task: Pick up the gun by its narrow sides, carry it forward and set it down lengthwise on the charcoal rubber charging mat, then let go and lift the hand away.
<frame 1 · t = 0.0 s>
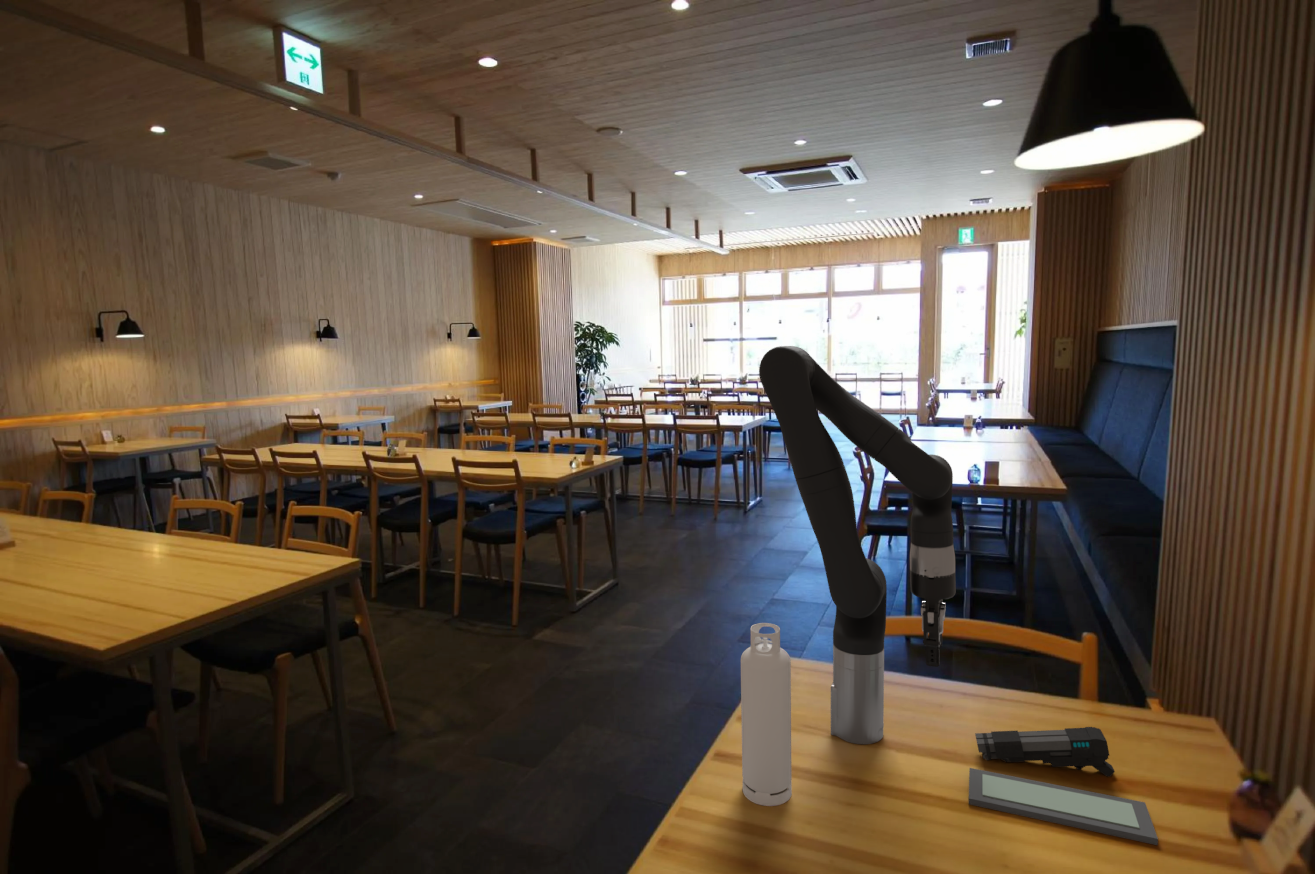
hand: (934, 655, 127), 17 cm above the table, tool pointing down, fingers open, 8 cm apart
gun: (1042, 766, 123), on the table
bottle: (767, 791, 117), on the table
charging mat: (1055, 806, 111), on the table
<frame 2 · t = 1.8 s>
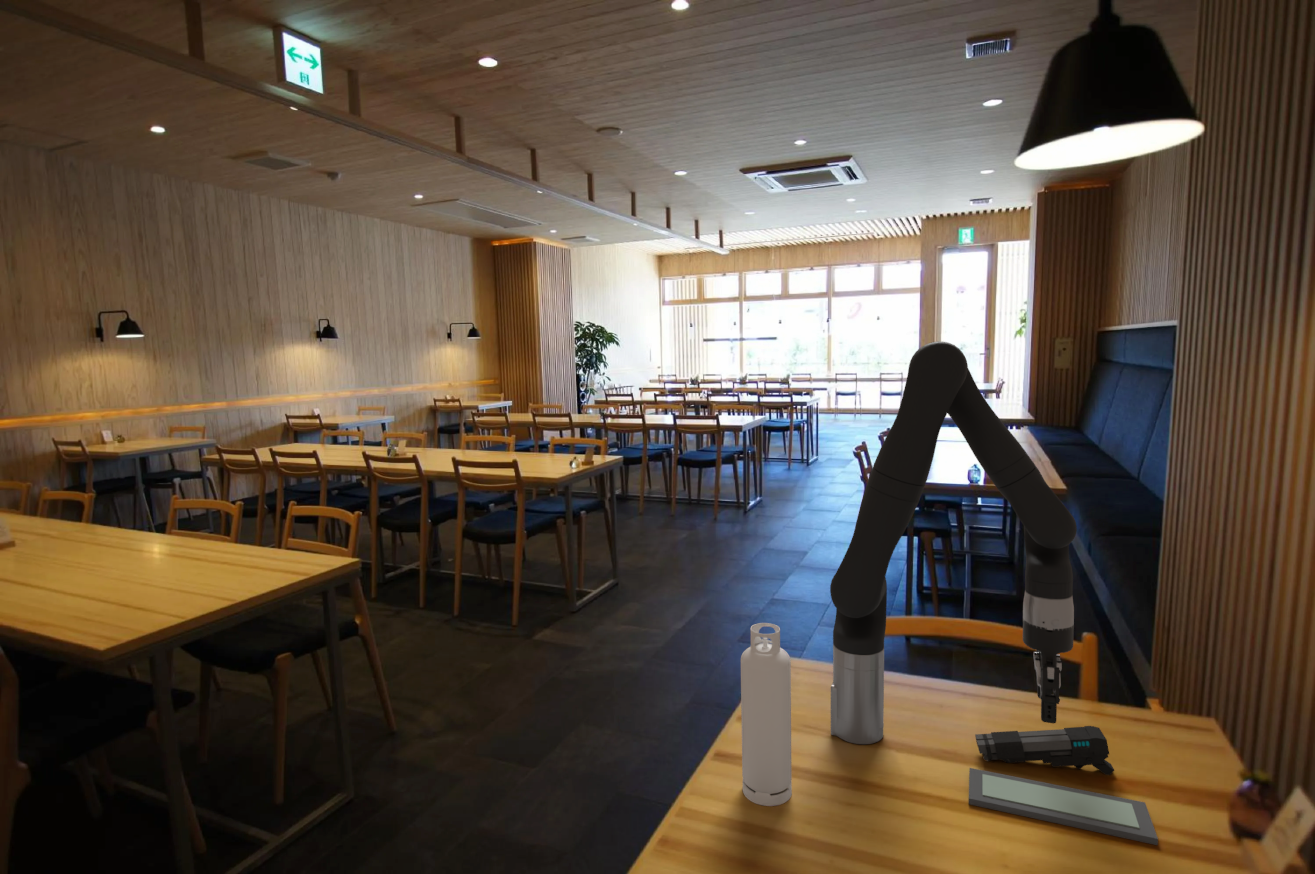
hand: (1046, 709, 121), 10 cm above the table, tool pointing down, fingers open, 8 cm apart
nothing on the table moved.
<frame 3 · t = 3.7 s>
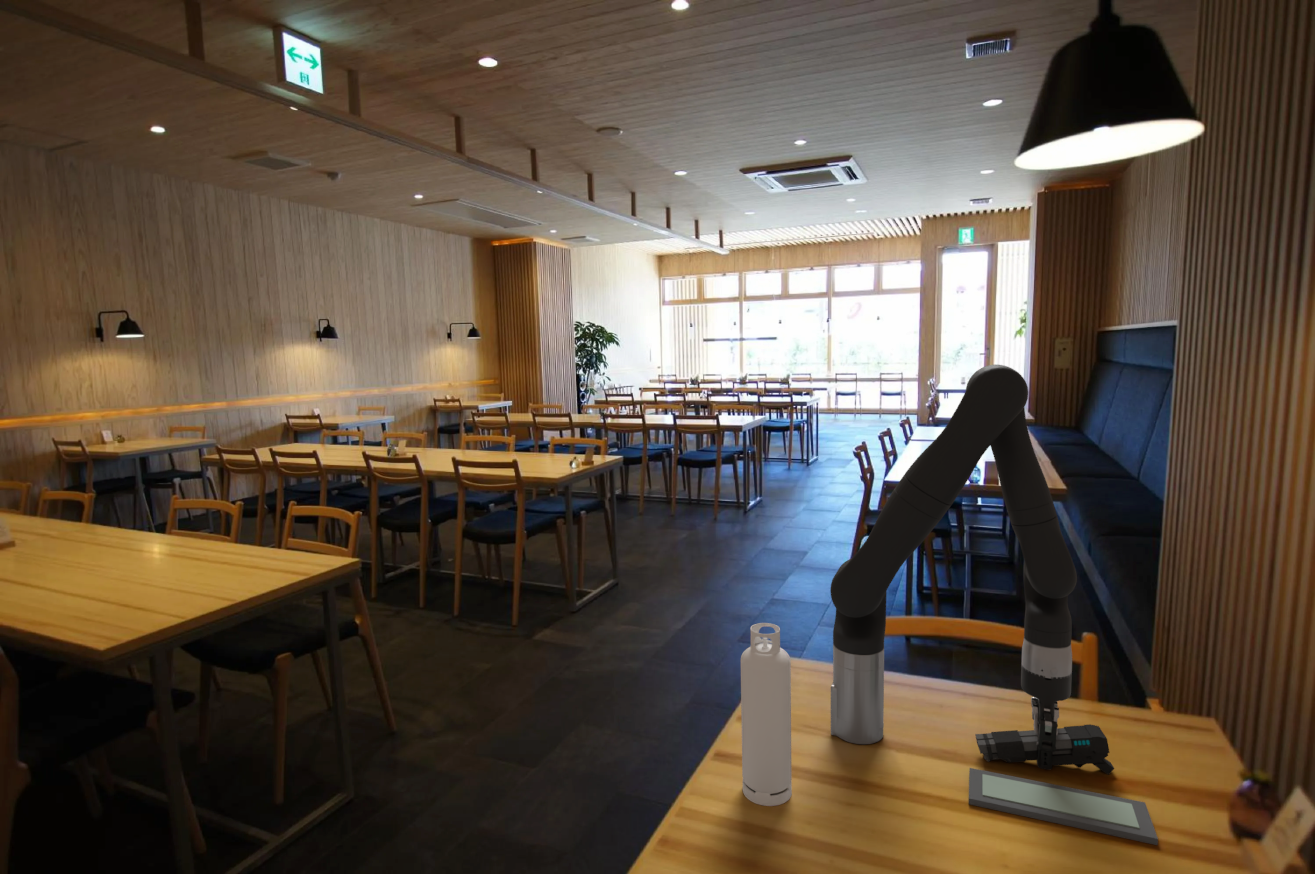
hand: (1043, 759, 122), 1 cm above the table, tool pointing down, fingers closed on gun, 4 cm apart
gun: (1042, 765, 122), on the table, touching gripper
everything else where it was.
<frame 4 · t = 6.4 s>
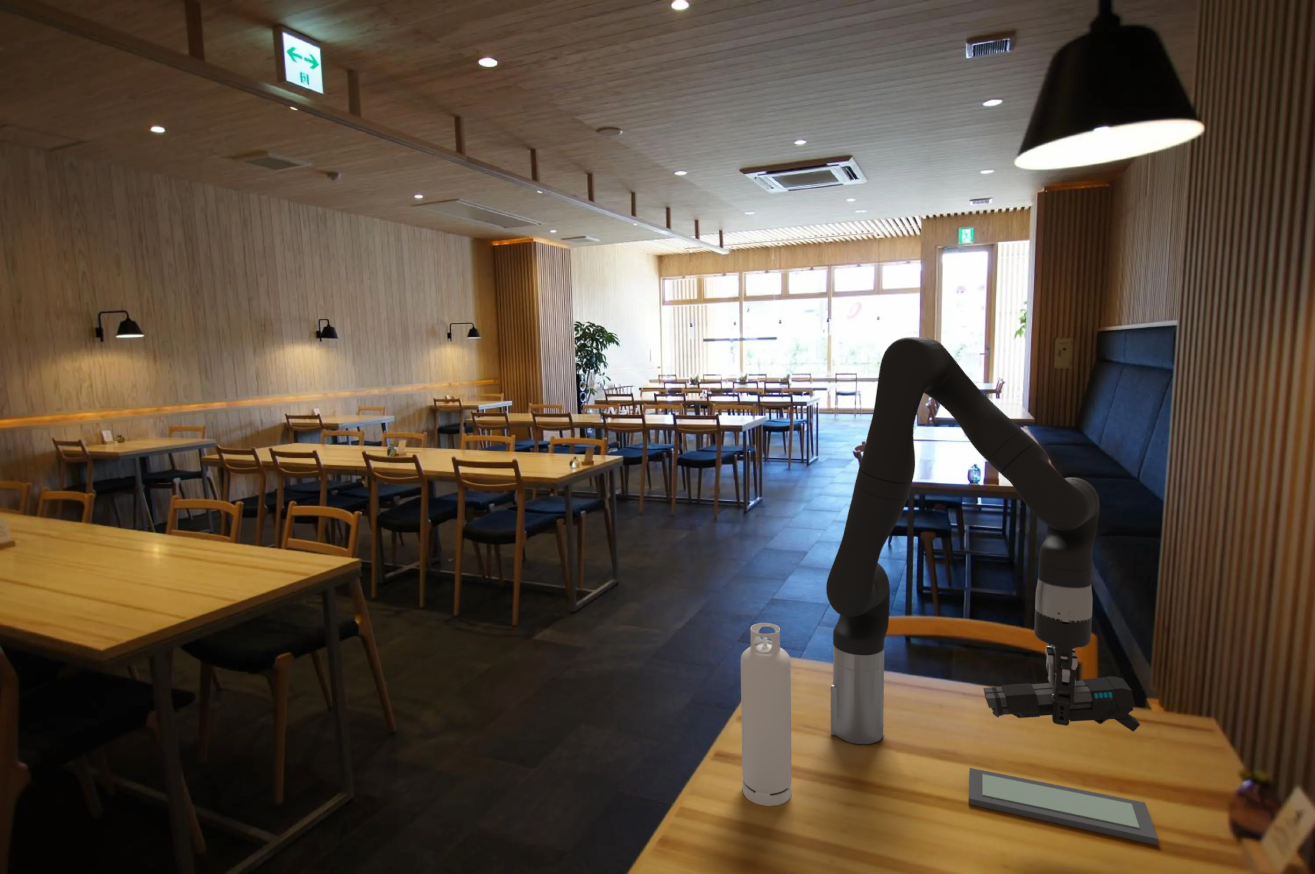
hand: (1058, 714, 110), 15 cm above the table, tool pointing down, fingers closed on gun, 4 cm apart
gun: (1058, 721, 110), point 14 cm above the table, touching gripper
everything else where it was.
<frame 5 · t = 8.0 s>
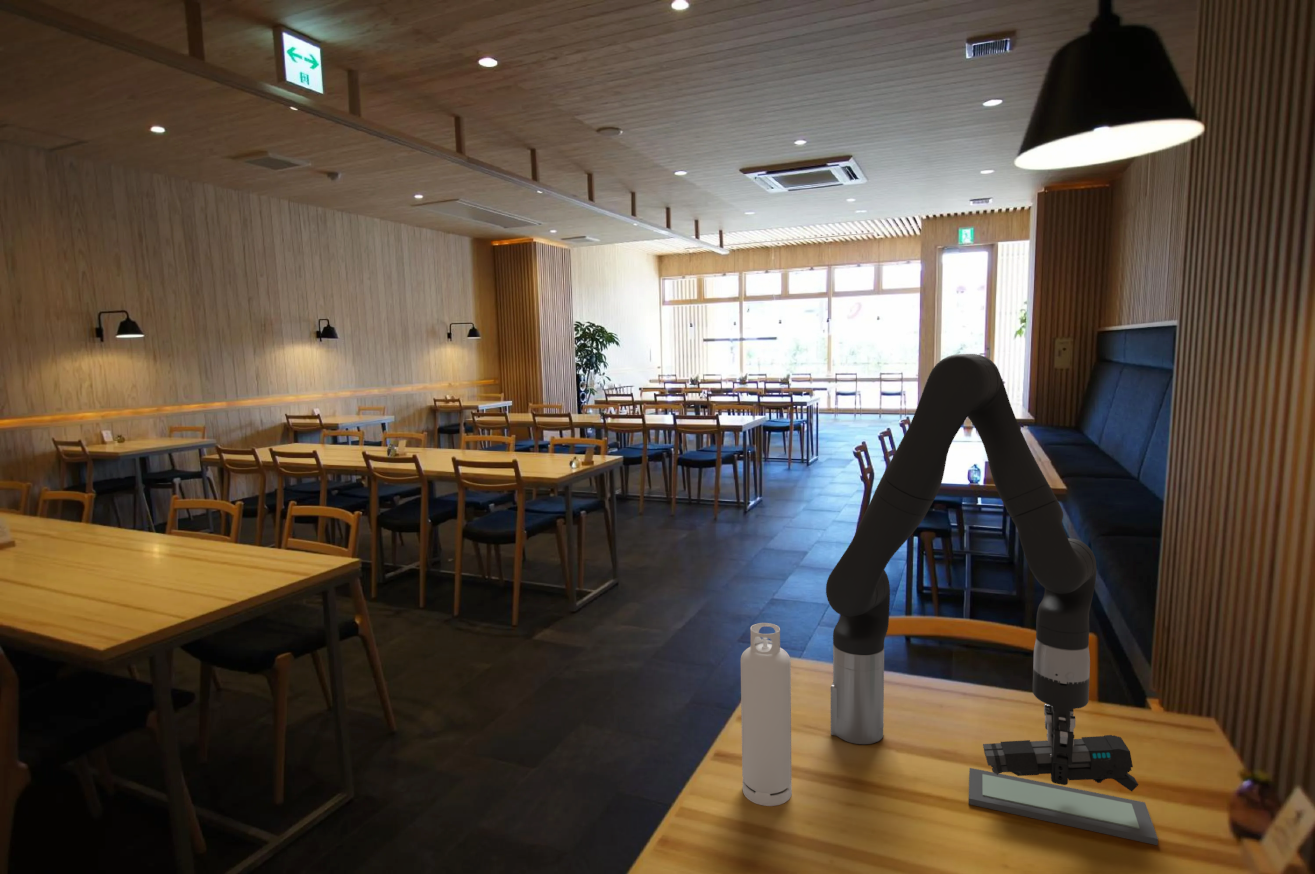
hand: (1057, 772, 111), 6 cm above the table, tool pointing down, fingers closed on gun, 4 cm apart
gun: (1057, 779, 111), point 4 cm above the table, touching gripper
everything else where it was.
when the fingers open (3 cm above the table, at t = 9.3 s): gun drops 1 cm, resting on charging mat.
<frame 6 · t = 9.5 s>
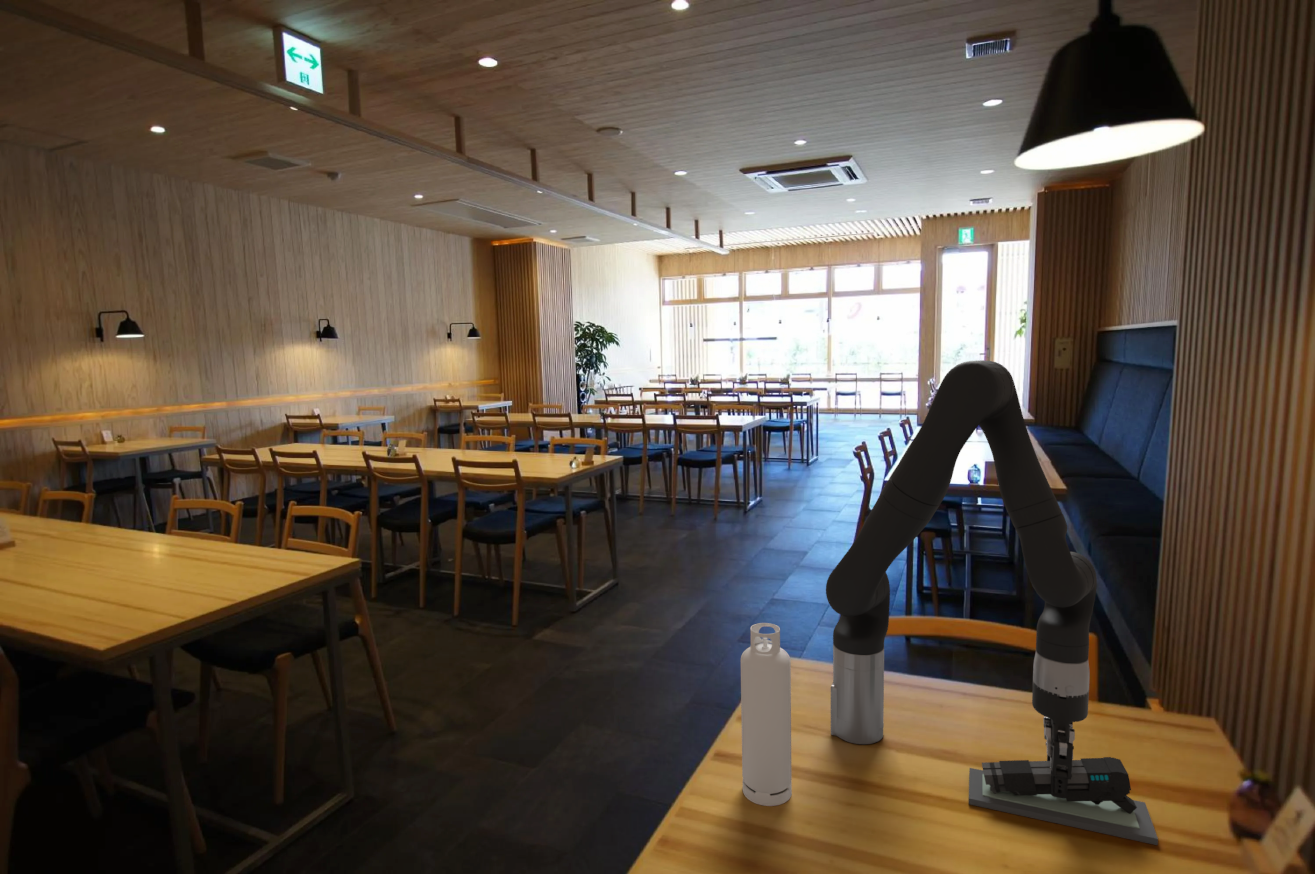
hand: (1056, 783, 111), 4 cm above the table, tool pointing down, fingers open, 6 cm apart
gun: (1056, 800, 111), point 1 cm above the table, touching charging mat
everything else where it was.
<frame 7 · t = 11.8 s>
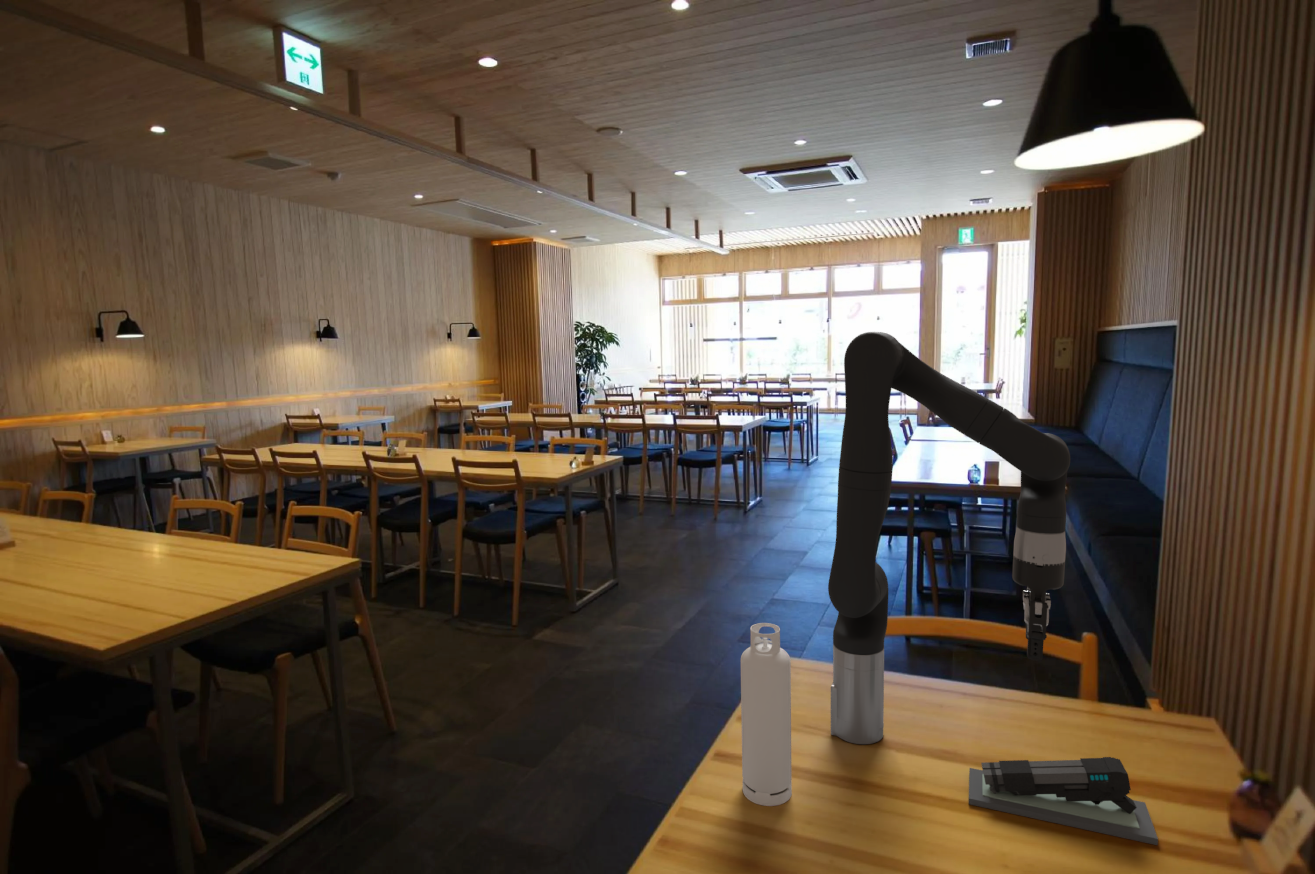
hand: (1033, 649, 118), 22 cm above the table, tool pointing down, fingers open, 8 cm apart
nothing on the table moved.
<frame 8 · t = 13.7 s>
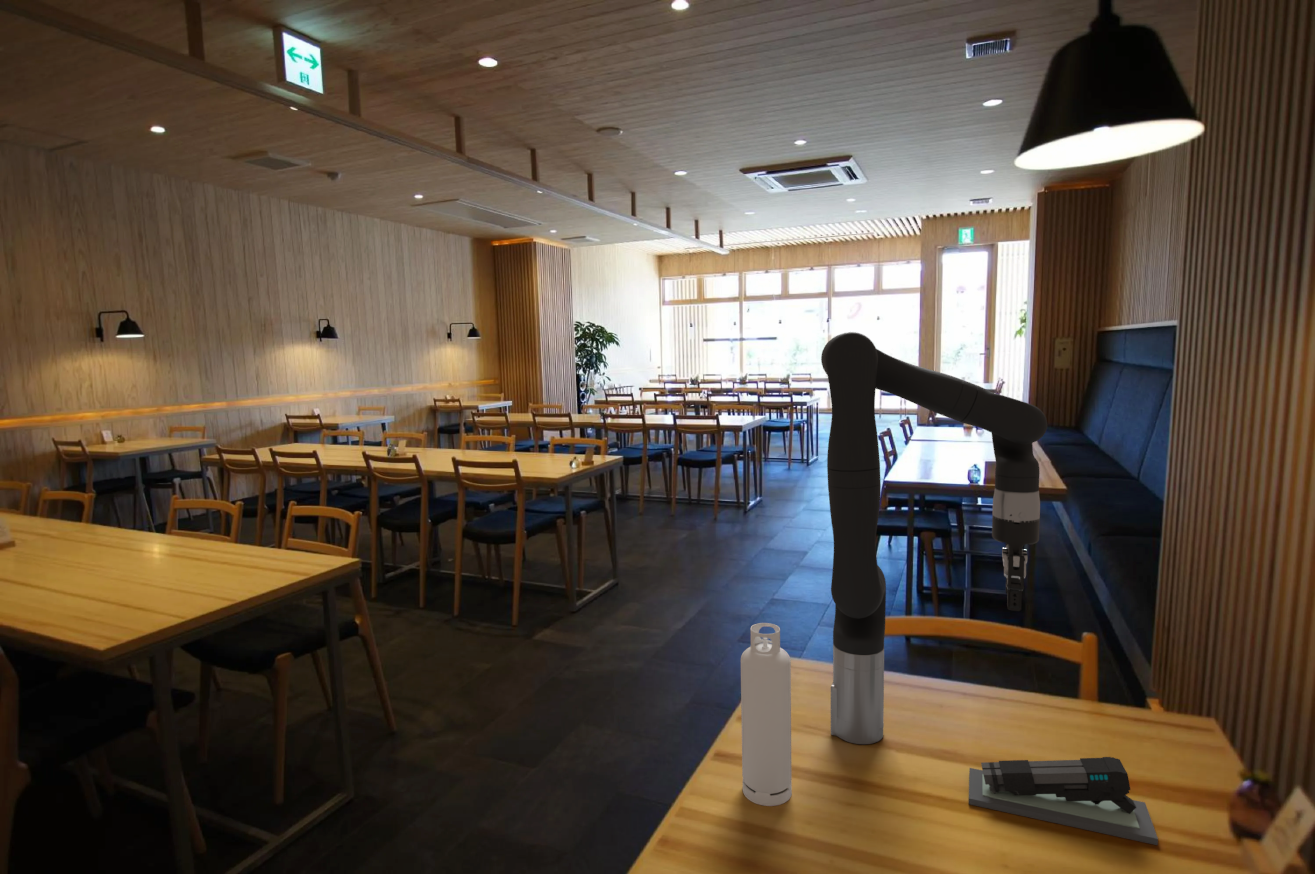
hand: (1013, 602, 128), 26 cm above the table, tool pointing down, fingers open, 8 cm apart
nothing on the table moved.
at the end: gun 0.0 cm off-centre on the charging mat, point 1.0 cm above the charging mat's base; gun tilted 0°; the gripper is holding nothing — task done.
